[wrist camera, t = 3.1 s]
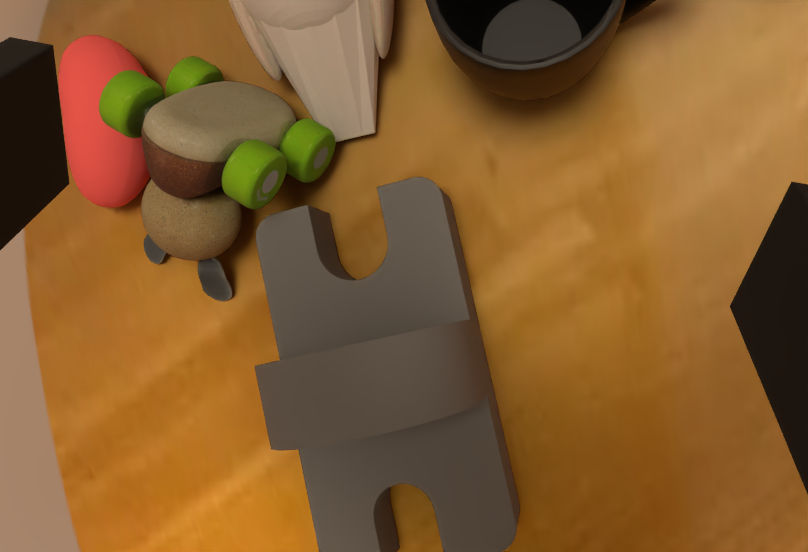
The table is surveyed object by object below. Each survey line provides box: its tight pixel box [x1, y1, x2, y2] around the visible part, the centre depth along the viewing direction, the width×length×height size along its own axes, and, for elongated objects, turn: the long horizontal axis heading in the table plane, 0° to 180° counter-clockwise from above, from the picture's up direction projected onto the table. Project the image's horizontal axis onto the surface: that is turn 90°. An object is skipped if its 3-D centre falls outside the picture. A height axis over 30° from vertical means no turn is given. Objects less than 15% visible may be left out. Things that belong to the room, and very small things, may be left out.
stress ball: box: [59, 35, 150, 207], centre depth 41 cm, size 5×9×6 cm
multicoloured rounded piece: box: [99, 56, 336, 301], centre depth 40 cm, size 9×9×11 cm
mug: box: [426, 0, 656, 101], centre depth 34 cm, size 8×12×10 cm
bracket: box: [255, 177, 520, 552], centre depth 35 cm, size 10×18×11 cm, turn 13°
